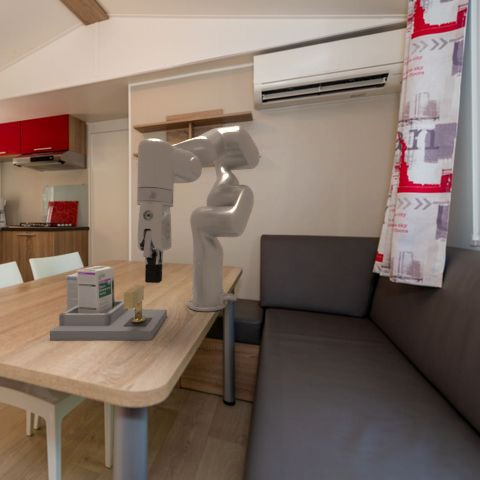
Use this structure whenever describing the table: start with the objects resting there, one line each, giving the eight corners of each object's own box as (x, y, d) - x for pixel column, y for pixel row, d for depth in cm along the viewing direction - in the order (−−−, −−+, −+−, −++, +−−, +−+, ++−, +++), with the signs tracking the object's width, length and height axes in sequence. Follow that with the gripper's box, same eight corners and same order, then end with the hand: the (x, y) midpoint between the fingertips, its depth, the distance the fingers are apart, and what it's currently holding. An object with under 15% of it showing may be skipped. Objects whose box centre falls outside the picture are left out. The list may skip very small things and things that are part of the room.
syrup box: (98, 330, 58) (98, 270, 57) (77, 327, 59) (76, 268, 59) (115, 321, 64) (115, 266, 63) (95, 319, 65) (95, 265, 64)
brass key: (147, 317, 60) (147, 284, 60) (135, 331, 53) (135, 292, 52) (134, 317, 60) (134, 284, 60) (120, 331, 52) (120, 292, 52)
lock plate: (166, 316, 68) (166, 300, 68) (151, 340, 54) (151, 320, 54) (86, 316, 67) (86, 300, 66) (49, 340, 53) (49, 319, 53)
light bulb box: (86, 301, 80) (86, 268, 79) (108, 301, 80) (107, 268, 79) (65, 313, 69) (65, 275, 68) (90, 313, 69) (90, 275, 69)
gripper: (164, 194, 46) (161, 290, 47) (179, 203, 61) (177, 276, 62) (123, 192, 46) (121, 289, 46) (149, 202, 61) (147, 275, 61)
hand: (153, 281), depth 54 cm, fingers closed
